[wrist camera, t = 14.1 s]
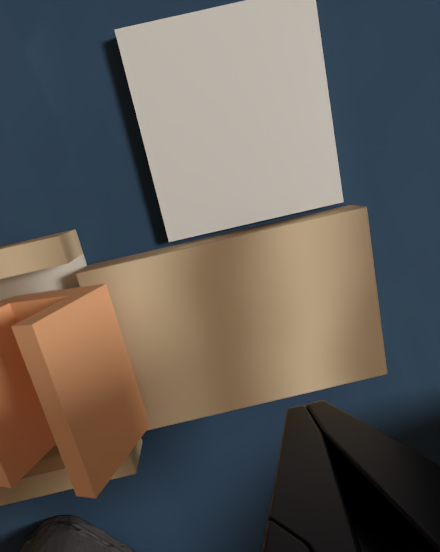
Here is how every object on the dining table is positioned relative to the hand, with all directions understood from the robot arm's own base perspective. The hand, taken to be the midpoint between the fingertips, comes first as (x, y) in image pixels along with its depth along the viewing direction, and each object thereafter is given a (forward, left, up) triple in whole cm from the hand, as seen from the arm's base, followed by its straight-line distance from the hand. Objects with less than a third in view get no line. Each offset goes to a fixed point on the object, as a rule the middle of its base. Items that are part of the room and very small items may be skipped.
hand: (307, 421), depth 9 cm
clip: (+7, 0, -7) cm, 10 cm away
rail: (+5, 0, -8) cm, 10 cm away
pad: (-1, -7, -8) cm, 11 cm away
